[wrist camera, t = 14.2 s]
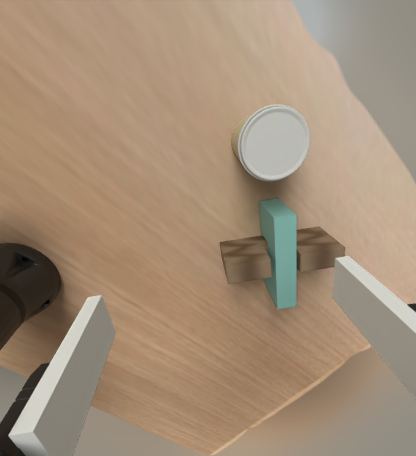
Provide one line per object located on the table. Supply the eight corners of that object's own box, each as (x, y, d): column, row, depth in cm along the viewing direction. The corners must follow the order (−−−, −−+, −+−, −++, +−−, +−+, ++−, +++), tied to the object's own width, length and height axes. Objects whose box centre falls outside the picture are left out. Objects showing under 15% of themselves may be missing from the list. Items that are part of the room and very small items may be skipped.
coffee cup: (290, 145, 43) (325, 153, 32) (245, 178, 45) (263, 196, 34) (262, 95, 40) (290, 86, 29) (215, 133, 42) (224, 137, 31)
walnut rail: (221, 257, 51) (228, 283, 43) (219, 242, 49) (225, 266, 41) (318, 242, 51) (343, 265, 43) (319, 226, 50) (345, 247, 41)
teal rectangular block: (263, 280, 54) (277, 309, 46) (259, 201, 47) (274, 218, 38) (279, 278, 54) (296, 306, 46) (277, 198, 47) (296, 214, 38)
